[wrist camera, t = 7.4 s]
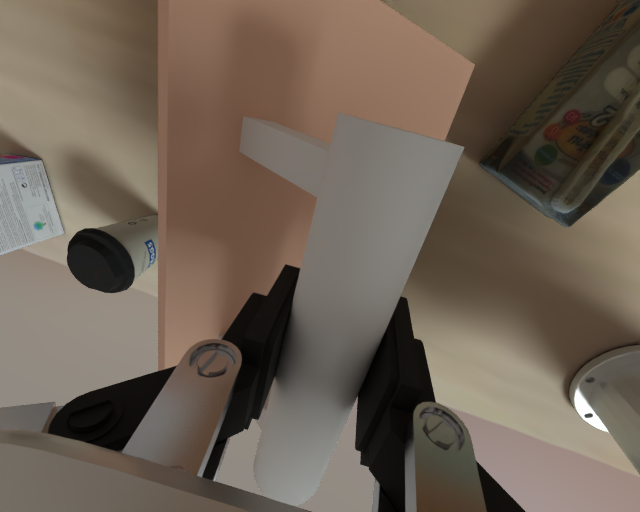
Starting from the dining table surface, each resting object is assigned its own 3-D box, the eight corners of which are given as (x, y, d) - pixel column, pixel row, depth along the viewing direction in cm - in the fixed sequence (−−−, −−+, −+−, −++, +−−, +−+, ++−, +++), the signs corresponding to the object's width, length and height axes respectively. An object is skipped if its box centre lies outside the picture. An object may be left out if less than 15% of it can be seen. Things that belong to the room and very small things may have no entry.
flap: (459, 63, 18) (644, 80, 12) (356, 334, 27) (437, 410, 22) (157, -128, 7) (508, -508, 2) (158, 421, 16) (223, 606, 11)
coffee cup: (125, 233, 39) (47, 267, 30) (147, 193, 36) (68, 217, 27) (170, 268, 40) (107, 312, 31) (195, 232, 37) (134, 269, 28)
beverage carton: (471, 162, 28) (494, 174, 22) (691, -87, 20) (822, -175, 14) (536, 212, 29) (576, 235, 23) (775, -10, 21) (934, -63, 15)
